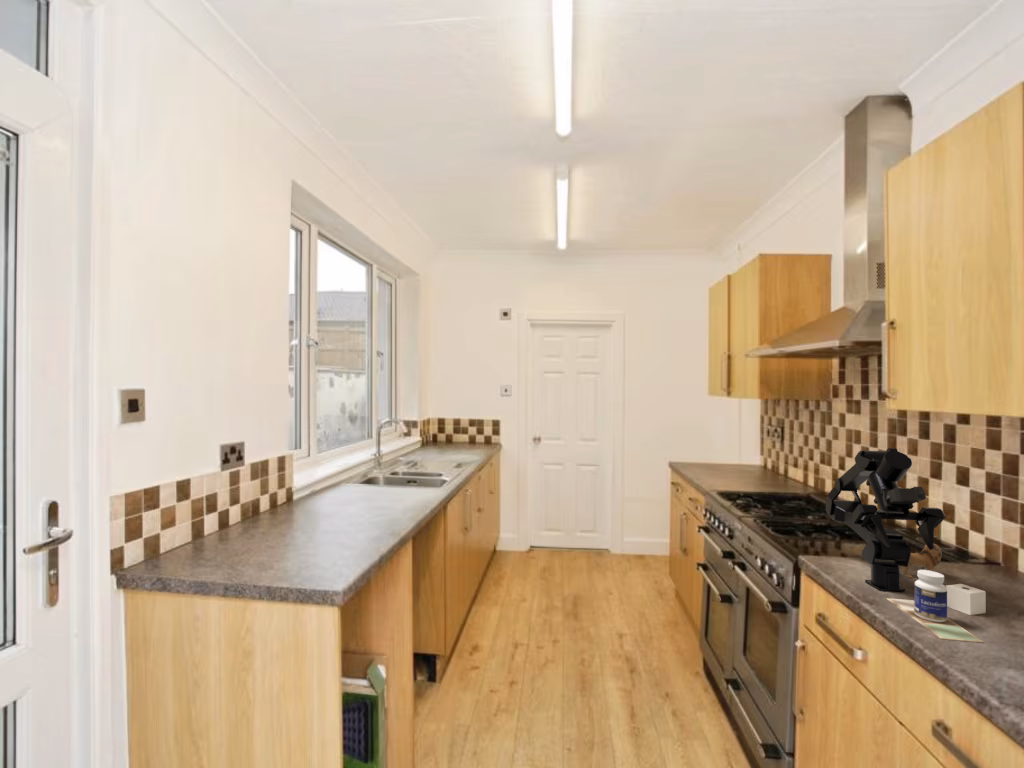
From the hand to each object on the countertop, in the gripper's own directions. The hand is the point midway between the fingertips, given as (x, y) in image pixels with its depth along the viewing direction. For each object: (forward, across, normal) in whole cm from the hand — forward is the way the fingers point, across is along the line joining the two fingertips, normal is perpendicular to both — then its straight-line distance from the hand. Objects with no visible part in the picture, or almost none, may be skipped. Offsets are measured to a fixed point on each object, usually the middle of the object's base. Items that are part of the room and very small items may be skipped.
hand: (910, 547), depth 123 cm
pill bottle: (+15, 0, +3) cm, 16 cm away
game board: (+15, 0, +3) cm, 16 cm away
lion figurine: (-6, +13, +26) cm, 30 cm away
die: (+10, +12, +9) cm, 18 cm away
